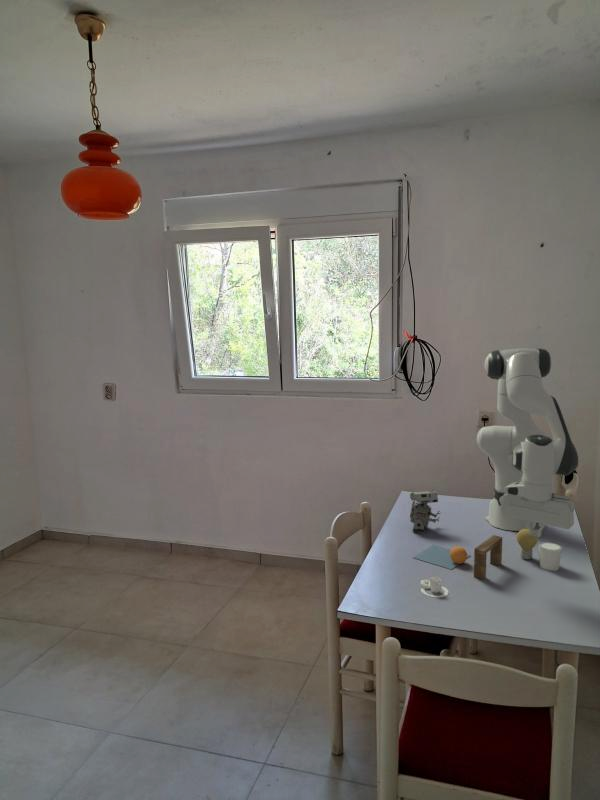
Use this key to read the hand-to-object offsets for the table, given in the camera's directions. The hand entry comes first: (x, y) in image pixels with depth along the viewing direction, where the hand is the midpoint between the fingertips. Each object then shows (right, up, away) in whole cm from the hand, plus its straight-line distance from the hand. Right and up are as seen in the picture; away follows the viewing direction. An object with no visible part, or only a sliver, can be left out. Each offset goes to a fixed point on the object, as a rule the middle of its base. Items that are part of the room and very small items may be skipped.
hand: (535, 535), depth 160 cm
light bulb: (+6, -13, +20) cm, 24 cm away
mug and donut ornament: (-29, -16, +1) cm, 33 cm away
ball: (-18, -11, +17) cm, 27 cm away
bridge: (-10, -14, +11) cm, 21 cm away
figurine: (-22, -10, +47) cm, 53 cm away
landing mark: (-22, -13, +22) cm, 34 cm away
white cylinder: (+10, -14, +13) cm, 21 cm away
